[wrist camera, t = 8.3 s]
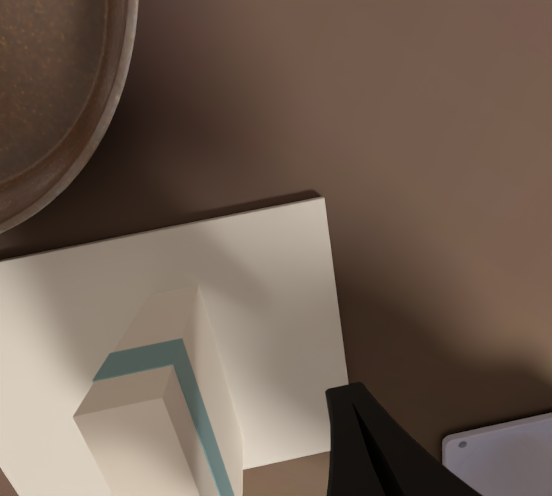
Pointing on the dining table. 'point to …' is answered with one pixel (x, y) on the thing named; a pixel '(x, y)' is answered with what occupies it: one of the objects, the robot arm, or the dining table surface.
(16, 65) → the plant saucer
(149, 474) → the card deck
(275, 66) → the dining table surface
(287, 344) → the mat
